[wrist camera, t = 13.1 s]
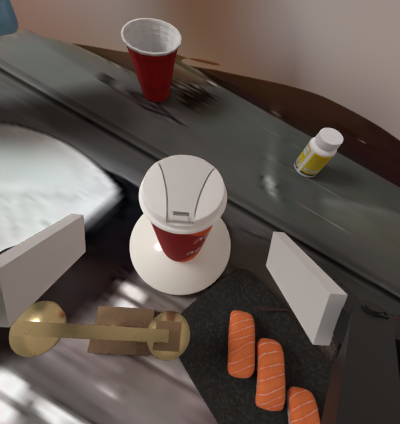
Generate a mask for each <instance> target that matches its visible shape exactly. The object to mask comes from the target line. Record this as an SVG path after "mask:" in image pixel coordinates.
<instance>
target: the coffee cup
mask: <svg viewBox="0 0 400 424" xmlns="http://www.w3.org/2000/svg"><path fill="white" fill-rule="evenodd" d="M139 202H140V206H141V209H142V211H143V213H144V214H145V216H146V217H147V219H149V220H150V221H151V224H152V226H153V229H154V231H155V234H156V236H157V239H158V241H159V243H160V246H161V248H162V250H163V252H164V253H165V255H166V256H167V257H168V258H170V259H171V260H173V261H176V262H186V261H189V260H191V259H193V258H194V257H195V256H196V255H197V254H198V253H199V251H200V250H201V248H202V246H203V244H204V242H205V240H206V238H207V236H208V234H209V232H210V230H211V228H212V226H213V224H215V223H216V222H217V221H218V220H219V218H220V217H221V216H222V214H223V212H224V210H225V207H226V204H227V191H226V188H225V185H224V182H223V179H222V177H221V175H220V173H219V172H218V170H217V169H216V168H215V167H213V166H212V165H211V164H209V163H208V162H206V161H205V160H203V159H201V158H199V157H195V156H190V155H174V156H170V157H167V158H164V159H162V160H160V161H158V162H156V163H155V164H154V165H153V166H151V168H150V169H149V170H148V171H147V173H146V175H145V177H144V179H143V181H142V183H141V186H140V189H139Z"/></svg>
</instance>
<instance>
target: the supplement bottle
mask: <svg viewBox="0 0 400 424" xmlns="http://www.w3.org/2000/svg"><path fill="white" fill-rule="evenodd" d="M342 142H343V136H342V135H341V134H340V133H339V132H338V131H337V130H335V129H332V128H323V129H322V130H320V132H319V133H318V134H317V136H316V137H314V138H312V139H311V140H310V142H309V143H308V144H307V146H306V147H305V149H304V150H303V151H302V153H301V154H300V156H299V157H298V159H297V160H296V161H295V164H294V167H295V169H296V171H297V172H298V173H299V174H300V175H302V176H304V177H314V176H315V175H317V174H318V172H319V171H320V170H321V169H322V168H323V167H324V166H325V165H326V164H327V163H328V161H329V160H330V159H331V158H332V157H333V156H334V155H335V154H336V152H337V148H338V147H339V146H340V145H341V144H342Z"/></svg>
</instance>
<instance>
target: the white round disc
mask: <svg viewBox="0 0 400 424" xmlns="http://www.w3.org/2000/svg"><path fill="white" fill-rule="evenodd" d="M230 249H231V243H230V236H229V232H228V230H227V227H226V225H225V223H224V222H223V220H222V219H221V217H220V218H219V220H218V221H217V222H216V223H215V224H213V226H212V228H211V230H210V232H209V234H208V236H207V238H206V240H205V242H204V244H203V246H202V248H201V250H200V251H199V253H198V254H197V255H196V256H195V257H194V258H193V259H191V260H189V261H186V262H176V261H173V260H171V259H170V258H168V257H167V256H166V255H165V253H164V252H163V250H162V248H161V246H160V243H159V241H158V239H157V236H156V234H155V231H154V229H153V226H152V224H151V221H150V220H149V219H147V217H146V216H145V214H143V215H142V216H141V217H140V219H139V220H138V221H137V223H136V225H135V227H134V229H133V231H132V235H131V239H130V256H131V260H132V263H133V265H134V267H135V269H136V271H137V273H138V274H139V276H140V277H141V278H142V279H143V280H144V281H145V282H146V283H147V284H148V285H150V286H151V287H153V288H154V289H156V290H158V291H160V292H163V293H167V294H171V295H188V294H193V293H196V292H199V291H201V290H203V289H205V288H207V287H208V286H210V285H211V284H212V283H214V282H215V281H216V280H217V279H218V278H219V276H220V275H221V274H222V272H223V271H224V269H225V267H226V265H227V263H228V260H229V256H230Z"/></svg>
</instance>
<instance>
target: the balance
mask: <svg viewBox="0 0 400 424" xmlns="http://www.w3.org/2000/svg"><path fill="white" fill-rule="evenodd" d="M154 317H155V310H152V309H138V308H124V307H110V306H99V308H98V312H97V316H96V320H95V324H94V325H84V324H68V323H66V314H65V311H64V309H63V308H62V307H61V306H60V305H59V304H57V303H55V302H50V301H40V302H36V303H34V304H32V305H31V306H30V307H29V308H28V309H27V310H26V311H25V312H24V313H23V314H22V315H21V316H20V317H19V318H18V319H17V320H16V321H15V322H14V323H13V324H12V326H11V329H10V333H9V342H10V346H11V348H12V350H13V351H14V352H15V353H16V354H18V355H20V356H23V357H33V356H38V355H41V354H43V353H45V352H47V351H49V350H50V349H52V348H53V347H54V346H55V345H56V344H57V343H58V341H59V340H60V339H61V338H77V339H91V340H90V343H89V347H88V351H87V353H104V354H121V355H138V356H148V355H149V352H150V351H151V353H152V354H153V355H154V356H155V357H156V358H158V359H160V360H165V361H169V360H173V359H176V358H177V357H179V356H180V355H181V354H182V353H183V352H184V351H185V349H186V348H187V346H188V343H189V339H190V329H189V325H188V323H187V321H186V319H185V318H184V317H183V316H182V315H181V314H179V313H177V312H174V311H166V312H163V313H160V314H159V315H157V316H156V317H155V318H154Z"/></svg>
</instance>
